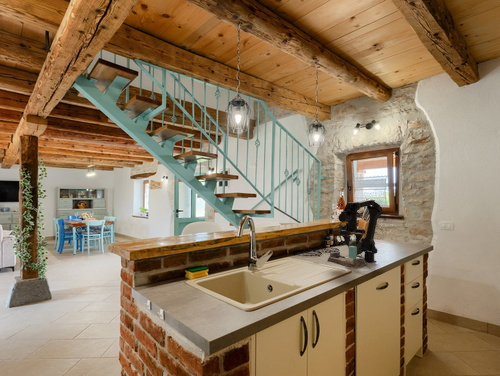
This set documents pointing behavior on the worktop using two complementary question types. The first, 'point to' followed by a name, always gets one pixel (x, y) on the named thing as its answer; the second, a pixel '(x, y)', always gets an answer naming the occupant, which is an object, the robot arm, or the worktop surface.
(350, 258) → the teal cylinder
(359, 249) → the alarm clock
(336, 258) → the rail board
